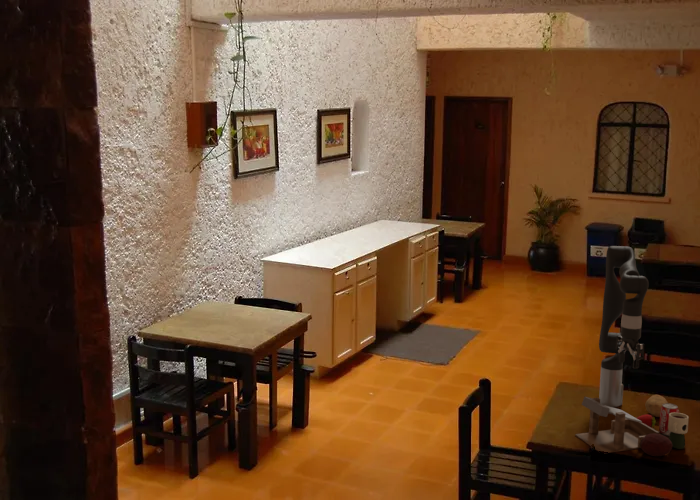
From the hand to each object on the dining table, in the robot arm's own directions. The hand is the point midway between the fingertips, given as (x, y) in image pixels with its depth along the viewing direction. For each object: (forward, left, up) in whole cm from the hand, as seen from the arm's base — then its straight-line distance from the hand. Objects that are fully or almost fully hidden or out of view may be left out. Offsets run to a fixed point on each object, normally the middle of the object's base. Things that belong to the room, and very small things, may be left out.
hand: (628, 365), depth 299 cm
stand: (+4, 0, -31) cm, 31 cm away
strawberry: (-13, -11, -29) cm, 34 cm away
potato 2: (-2, +16, -31) cm, 35 cm away
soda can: (-22, 0, -31) cm, 38 cm away
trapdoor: (+7, 0, -20) cm, 21 cm away
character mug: (-16, +12, -31) cm, 37 cm away
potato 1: (-30, -18, -31) cm, 47 cm away
